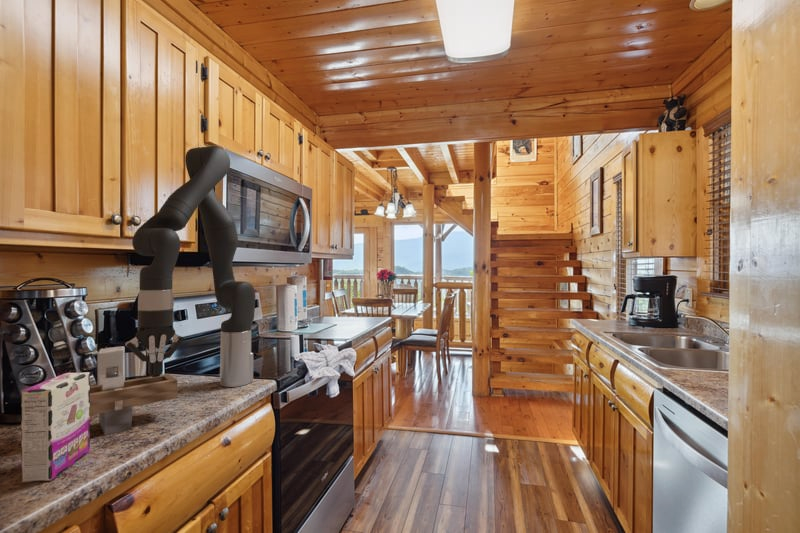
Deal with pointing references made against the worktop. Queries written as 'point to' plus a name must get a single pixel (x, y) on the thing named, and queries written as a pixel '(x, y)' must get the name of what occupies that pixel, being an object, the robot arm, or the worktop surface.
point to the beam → (129, 400)
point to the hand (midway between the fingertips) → (155, 376)
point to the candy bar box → (54, 425)
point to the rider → (111, 379)
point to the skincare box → (111, 360)
